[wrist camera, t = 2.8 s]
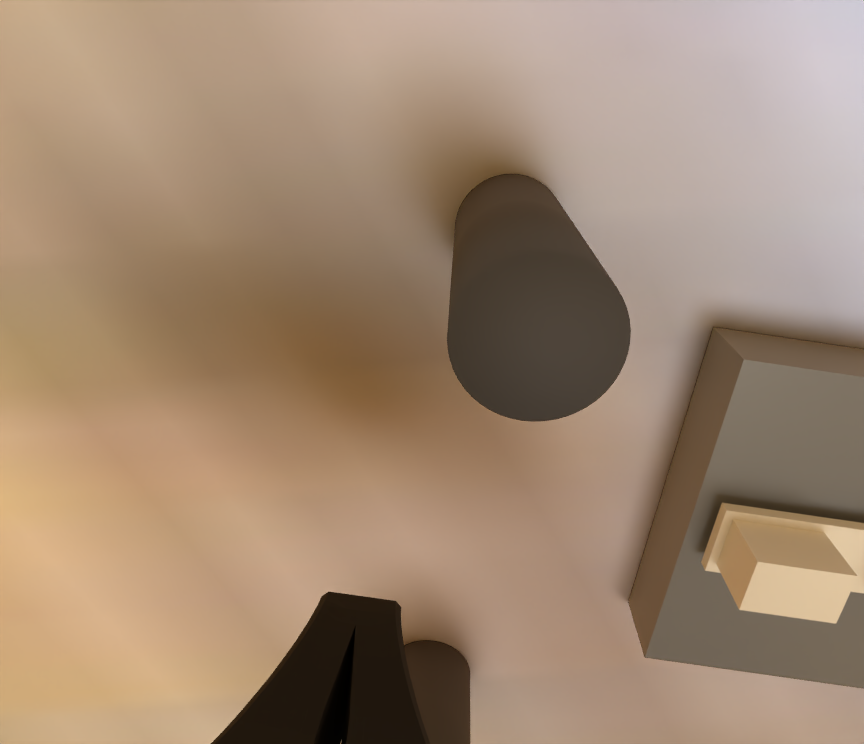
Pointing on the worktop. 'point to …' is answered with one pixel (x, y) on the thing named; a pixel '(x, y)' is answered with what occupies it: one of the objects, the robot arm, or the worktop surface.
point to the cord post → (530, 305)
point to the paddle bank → (786, 561)
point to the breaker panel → (756, 504)
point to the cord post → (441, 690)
